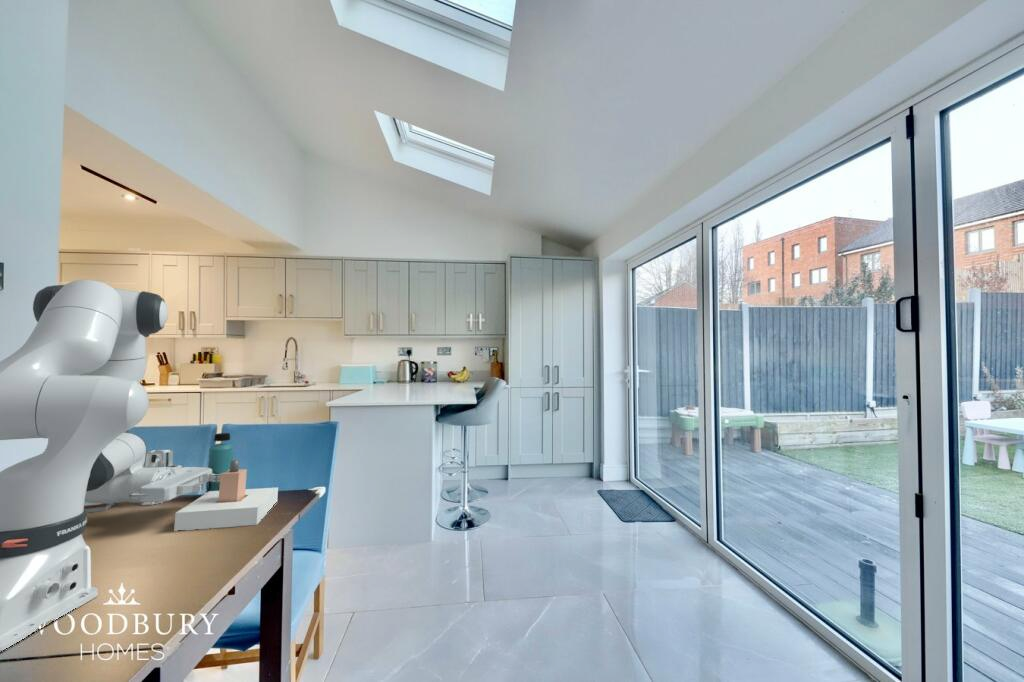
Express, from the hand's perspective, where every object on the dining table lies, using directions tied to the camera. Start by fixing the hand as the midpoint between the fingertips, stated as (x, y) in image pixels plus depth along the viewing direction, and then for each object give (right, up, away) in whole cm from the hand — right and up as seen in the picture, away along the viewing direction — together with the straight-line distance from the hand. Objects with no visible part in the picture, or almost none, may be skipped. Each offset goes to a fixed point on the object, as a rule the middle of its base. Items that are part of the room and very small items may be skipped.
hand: (211, 482), depth 107 cm
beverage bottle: (-10, -10, +15) cm, 20 cm away
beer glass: (-25, -10, +9) cm, 28 cm away
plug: (+5, -9, 0) cm, 11 cm away
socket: (+5, -9, 0) cm, 10 cm away
